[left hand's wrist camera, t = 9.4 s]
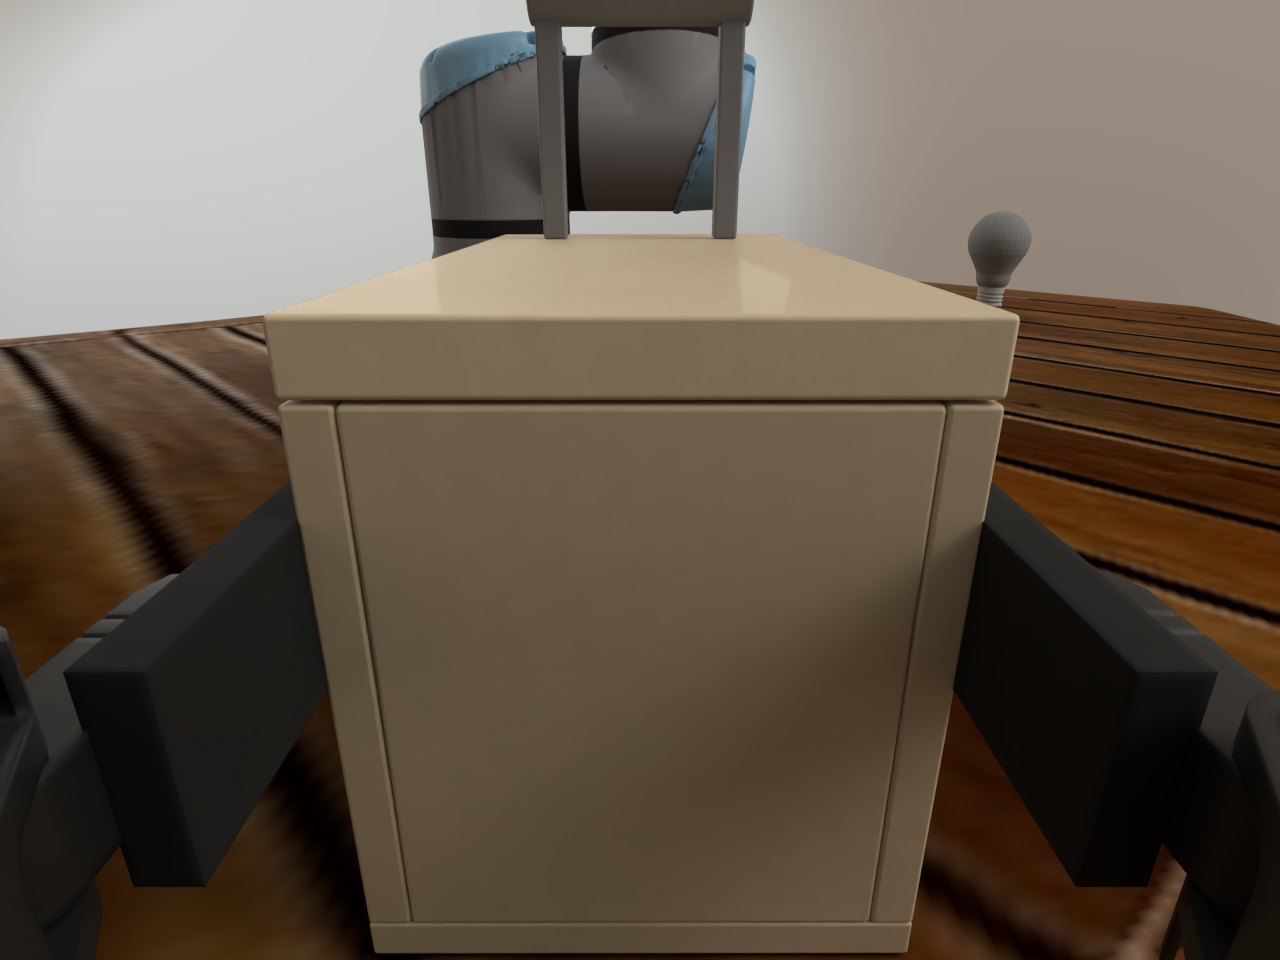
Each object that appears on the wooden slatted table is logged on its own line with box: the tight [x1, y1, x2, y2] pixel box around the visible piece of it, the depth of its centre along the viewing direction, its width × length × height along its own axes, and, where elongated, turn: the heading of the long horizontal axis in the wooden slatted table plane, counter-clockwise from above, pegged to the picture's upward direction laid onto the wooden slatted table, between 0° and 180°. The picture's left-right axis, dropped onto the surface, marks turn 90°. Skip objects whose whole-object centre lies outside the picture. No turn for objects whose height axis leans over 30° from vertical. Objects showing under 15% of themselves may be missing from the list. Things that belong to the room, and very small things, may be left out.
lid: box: [262, 0, 1020, 400], centre depth 16 cm, size 18×9×8 cm, turn 0°
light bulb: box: [968, 211, 1031, 308], centre depth 80 cm, size 6×6×10 cm
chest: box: [278, 400, 1004, 953], centre depth 19 cm, size 17×9×10 cm, turn 0°
